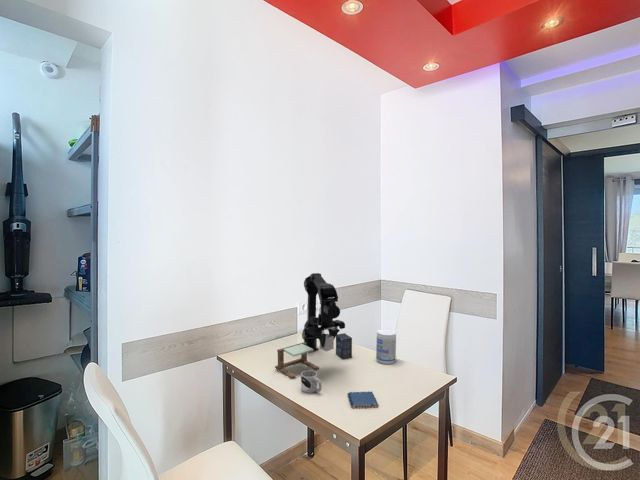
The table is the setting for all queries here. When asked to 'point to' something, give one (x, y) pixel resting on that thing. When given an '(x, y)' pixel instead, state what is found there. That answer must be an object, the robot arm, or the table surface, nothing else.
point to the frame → (292, 362)
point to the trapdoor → (298, 350)
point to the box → (344, 346)
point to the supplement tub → (386, 346)
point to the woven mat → (362, 399)
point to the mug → (310, 382)
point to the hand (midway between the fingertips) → (326, 345)
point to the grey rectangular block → (328, 343)
